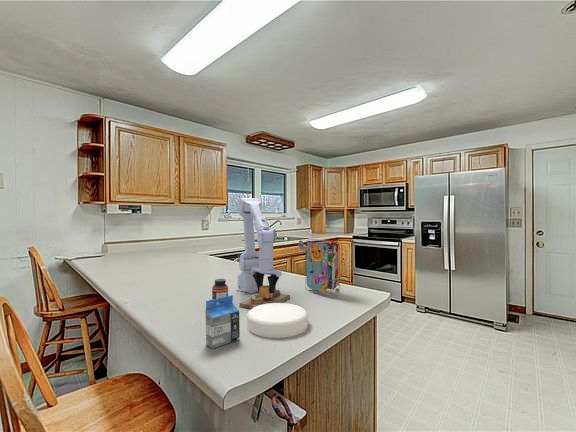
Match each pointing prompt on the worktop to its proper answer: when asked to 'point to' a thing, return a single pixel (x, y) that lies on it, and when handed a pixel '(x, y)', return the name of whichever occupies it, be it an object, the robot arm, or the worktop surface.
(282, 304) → the container
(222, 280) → the supplement bottle
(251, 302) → the gear board
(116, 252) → the worktop surface
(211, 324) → the label tape box
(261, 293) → the idler gear
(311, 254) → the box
